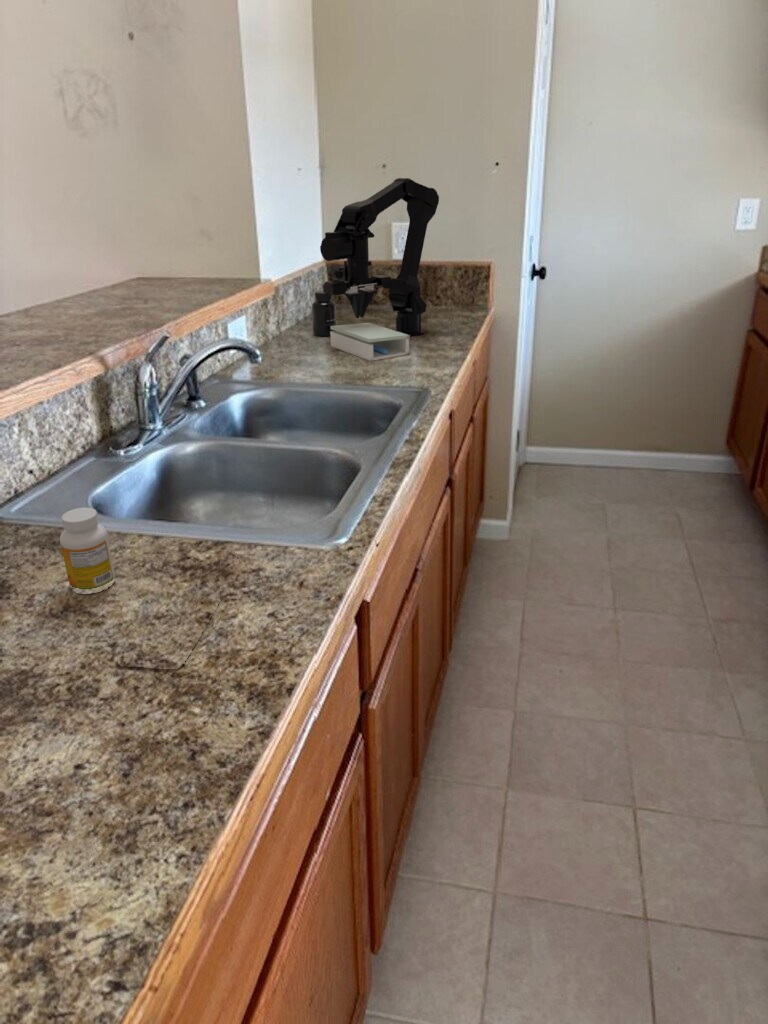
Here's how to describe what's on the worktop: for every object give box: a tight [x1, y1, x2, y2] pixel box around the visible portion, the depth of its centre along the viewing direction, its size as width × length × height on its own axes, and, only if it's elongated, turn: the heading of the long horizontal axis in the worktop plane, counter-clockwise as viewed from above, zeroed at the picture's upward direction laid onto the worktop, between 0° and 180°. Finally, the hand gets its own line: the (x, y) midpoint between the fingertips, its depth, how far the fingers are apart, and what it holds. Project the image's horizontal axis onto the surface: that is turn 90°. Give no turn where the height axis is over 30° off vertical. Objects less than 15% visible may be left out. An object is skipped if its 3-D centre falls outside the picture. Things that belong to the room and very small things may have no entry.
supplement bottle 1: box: [59, 507, 116, 589], centre depth 93 cm, size 5×5×10 cm
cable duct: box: [329, 331, 410, 362], centre depth 203 cm, size 12×20×4 cm, turn 33°
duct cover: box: [331, 322, 411, 342], centre depth 202 cm, size 12×20×1 cm, turn 33°
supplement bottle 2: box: [311, 290, 337, 337], centre depth 219 cm, size 7×7×12 cm
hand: (359, 317), depth 206 cm, fingers closed
